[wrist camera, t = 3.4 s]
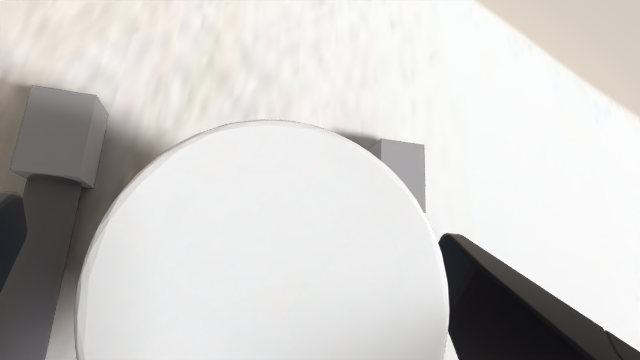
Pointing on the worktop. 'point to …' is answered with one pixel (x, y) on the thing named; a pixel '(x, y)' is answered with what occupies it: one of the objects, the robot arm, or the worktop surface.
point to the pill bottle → (263, 256)
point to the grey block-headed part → (48, 210)
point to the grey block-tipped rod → (404, 164)
